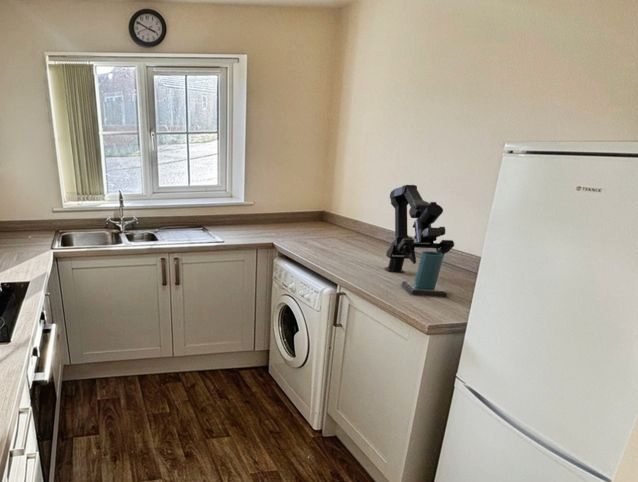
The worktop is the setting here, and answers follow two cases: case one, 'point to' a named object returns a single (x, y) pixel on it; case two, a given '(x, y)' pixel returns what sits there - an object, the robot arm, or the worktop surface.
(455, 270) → the worktop surface
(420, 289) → the pan
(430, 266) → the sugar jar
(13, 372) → the worktop surface
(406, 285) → the scale
